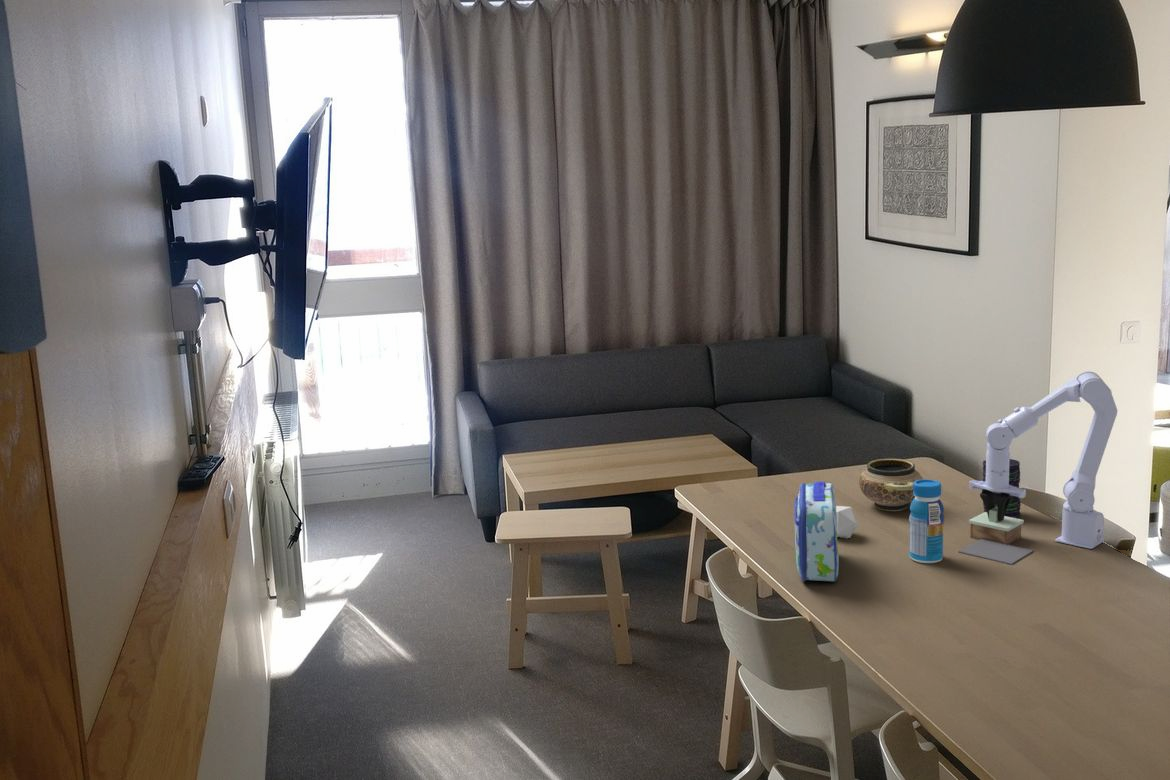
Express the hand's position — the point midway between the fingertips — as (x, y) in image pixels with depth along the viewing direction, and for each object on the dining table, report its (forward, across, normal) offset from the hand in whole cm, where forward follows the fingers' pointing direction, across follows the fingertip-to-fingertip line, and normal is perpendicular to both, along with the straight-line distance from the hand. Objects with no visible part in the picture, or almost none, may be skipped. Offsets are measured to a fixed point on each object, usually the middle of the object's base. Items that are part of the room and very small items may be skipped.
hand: (996, 519), depth 284 cm
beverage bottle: (+5, +6, +25) cm, 26 cm away
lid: (+1, 0, 0) cm, 1 cm away
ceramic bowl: (+5, +35, -6) cm, 36 cm away
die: (+5, +32, +24) cm, 40 cm away
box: (+5, 0, 0) cm, 5 cm away
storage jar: (+5, +7, -18) cm, 20 cm away
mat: (+5, -5, +10) cm, 12 cm away
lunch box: (+5, +23, +48) cm, 53 cm away
